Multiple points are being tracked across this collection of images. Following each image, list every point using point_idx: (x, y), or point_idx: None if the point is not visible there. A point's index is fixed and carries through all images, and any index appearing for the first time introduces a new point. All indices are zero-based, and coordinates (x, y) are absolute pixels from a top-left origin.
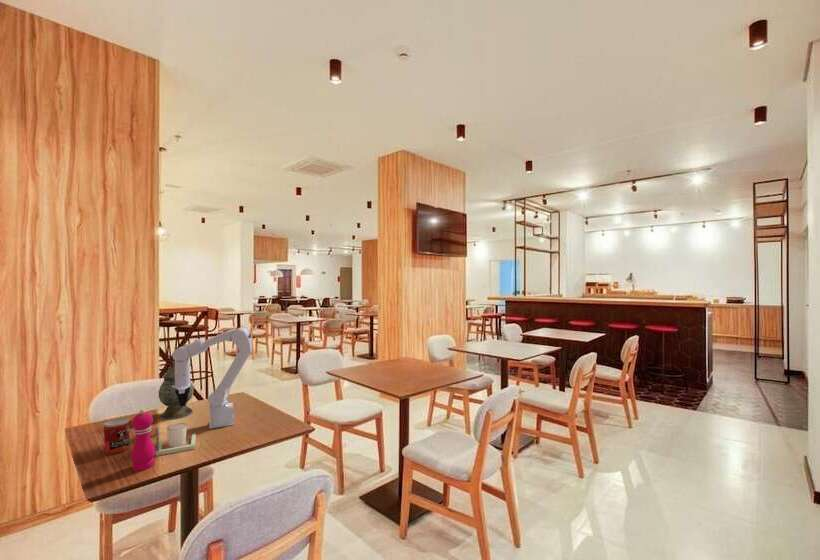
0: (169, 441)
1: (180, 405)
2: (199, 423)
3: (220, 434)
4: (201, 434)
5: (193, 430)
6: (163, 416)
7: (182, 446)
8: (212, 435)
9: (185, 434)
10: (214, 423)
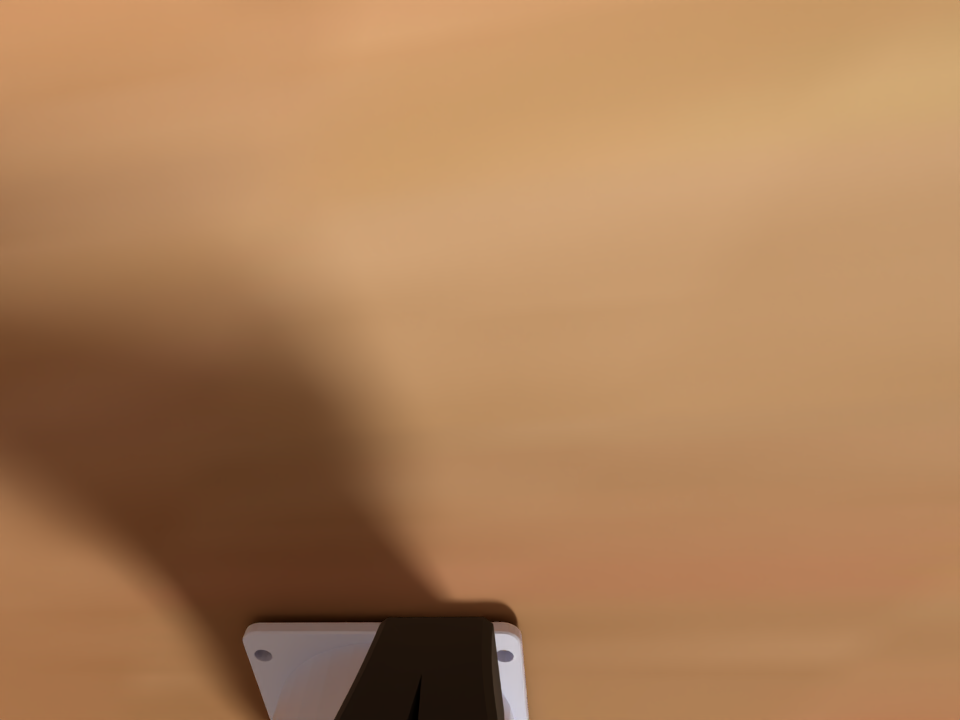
0: None
1: (375, 648)
2: (573, 508)
3: (33, 703)
4: (65, 547)
5: (260, 453)
6: None
7: None
8: (10, 644)
9: None
10: (274, 716)
